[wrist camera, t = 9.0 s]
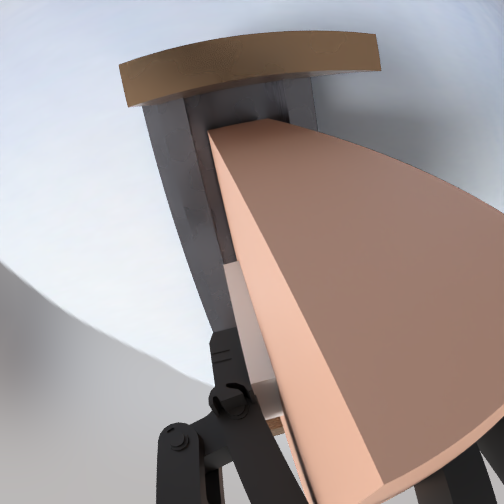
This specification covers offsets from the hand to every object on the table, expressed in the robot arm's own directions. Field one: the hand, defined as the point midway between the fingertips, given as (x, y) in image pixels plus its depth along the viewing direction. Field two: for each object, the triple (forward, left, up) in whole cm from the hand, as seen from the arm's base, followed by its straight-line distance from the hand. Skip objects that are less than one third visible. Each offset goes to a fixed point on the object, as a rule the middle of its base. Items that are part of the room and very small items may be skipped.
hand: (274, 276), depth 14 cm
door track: (0, 0, -5) cm, 5 cm away
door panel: (0, 0, -3) cm, 3 cm away
